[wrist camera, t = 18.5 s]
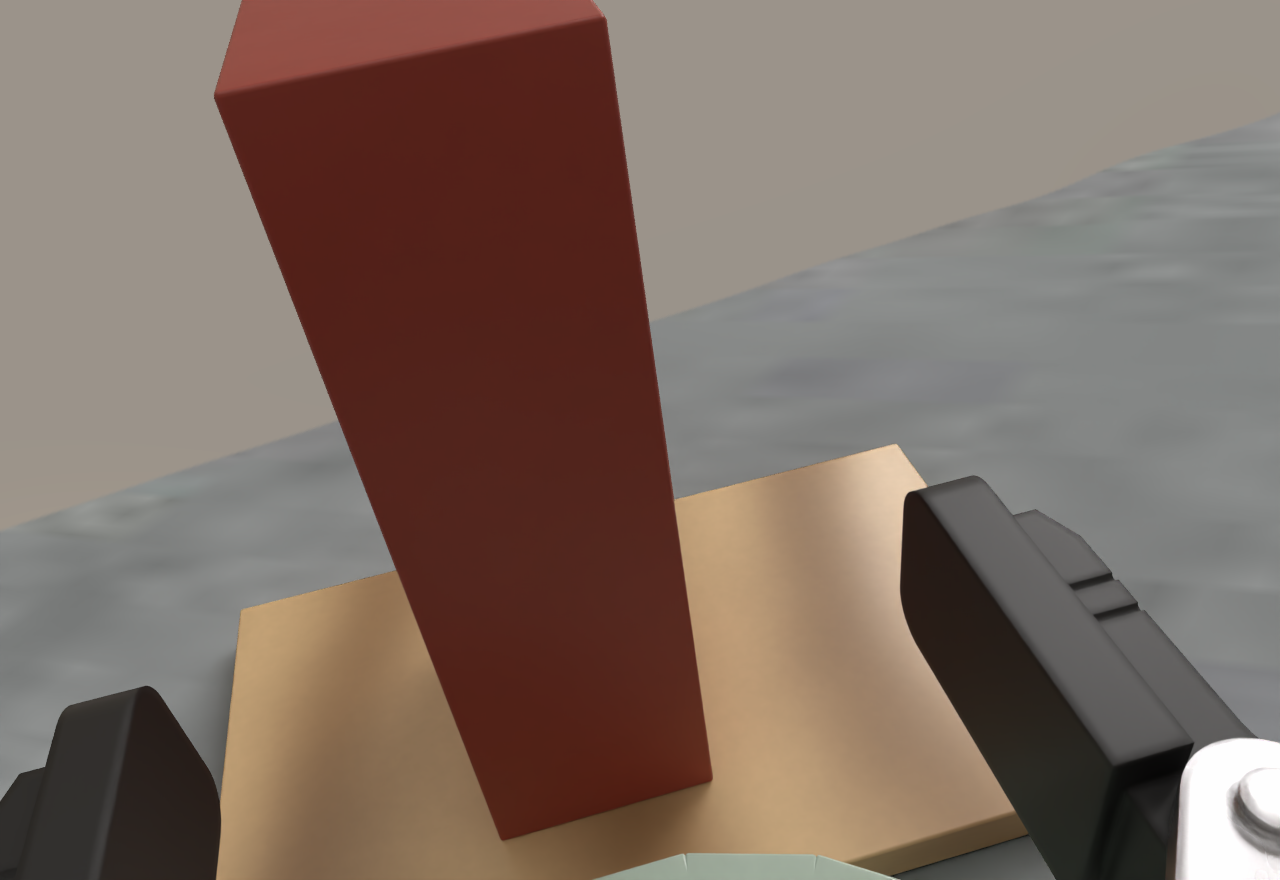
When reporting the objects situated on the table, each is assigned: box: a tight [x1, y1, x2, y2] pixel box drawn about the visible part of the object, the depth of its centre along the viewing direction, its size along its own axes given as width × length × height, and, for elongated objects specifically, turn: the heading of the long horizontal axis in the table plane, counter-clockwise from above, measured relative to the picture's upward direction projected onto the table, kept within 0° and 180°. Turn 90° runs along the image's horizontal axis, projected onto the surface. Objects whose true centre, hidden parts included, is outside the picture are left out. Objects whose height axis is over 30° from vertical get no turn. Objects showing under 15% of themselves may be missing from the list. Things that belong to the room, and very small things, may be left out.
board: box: [216, 444, 1029, 880], centre depth 23 cm, size 18×11×1 cm, turn 103°
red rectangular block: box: [214, 0, 713, 840], centre depth 18 cm, size 4×6×15 cm
